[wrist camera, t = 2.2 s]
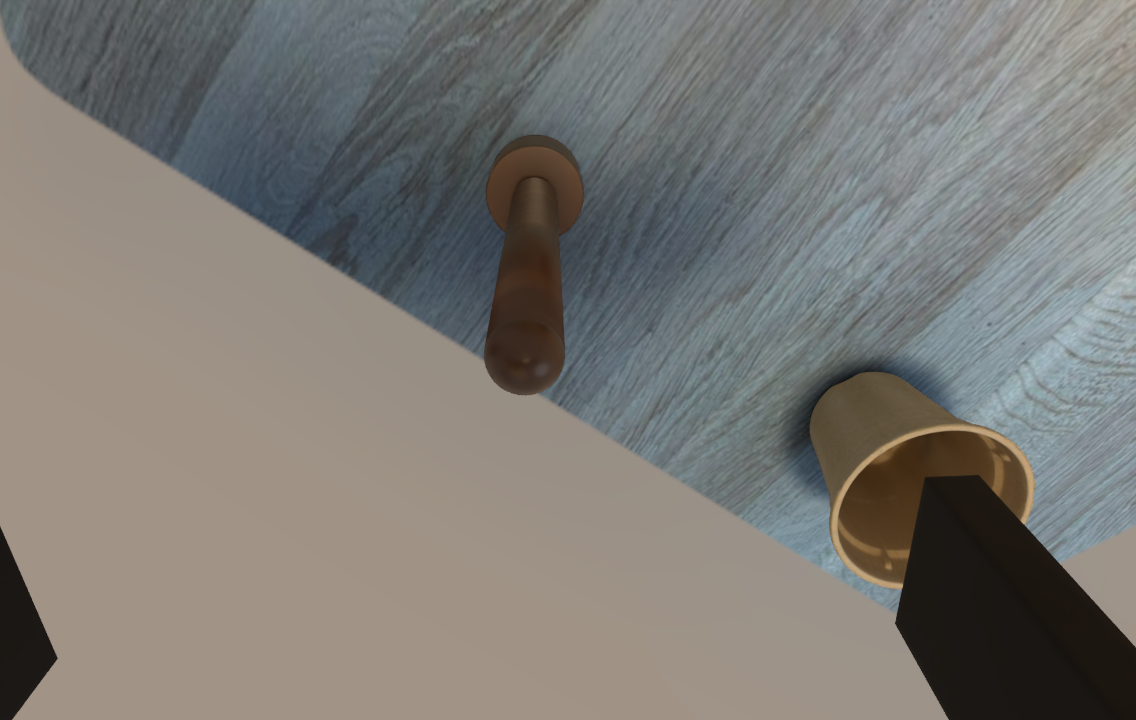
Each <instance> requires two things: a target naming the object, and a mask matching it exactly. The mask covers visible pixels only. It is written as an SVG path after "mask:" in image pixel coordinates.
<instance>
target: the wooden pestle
mask: <svg viewBox="0 0 1136 720" xmlns="http://www.w3.org/2000/svg"><path fill="white" fill-rule="evenodd" d="M583 198H584V192H583V184H582V179H581V174H580V169H579V166H578V163H577V161H576V159H575V157H574V156H573V154H572V153H571V152H570V151H569V150H568V148H567V147H565V146H564V145H563V144H562V143H560V142H559V141H557V140H555V139H553V138H550V137H547V136H542V135H528V136H524V137H520V138H518V139H516V140H514V141H512V142H510V143H509V144H508V145H506V146H505V147H504V148H503V149H502V150H501V151H500V153H499V154H498V156H497V157H496V159H495V161H494V163H493V166H492V169H491V172H490V175H489V178H488V182H487V187H486V200H487V205H488V209H489V211H490V214H491V216H492V218H493V219H494V221H495V222H496V224H497V225H498V226H499V227H500V228H501V229H502V230H503V231H504V232H506V233H505V238H504V244H503V249H502V255H501V260H500V266H499V271H498V277H497V282H496V288H495V293H494V299H493V304H492V310H491V315H490V321H489V326H488V332H487V337H486V343H485V349H484V360H485V365H486V368H487V371H488V373H489V375H490V377H491V378H492V379H493V381H494V382H495V383H496V384H497V385H498V386H499V387H501V388H502V389H504V390H506V391H508V392H510V393H513V394H517V395H532V394H536V393H540V392H542V391H544V390H546V389H547V388H549V387H550V386H551V385H552V384H553V383H554V382H555V381H556V380H557V378H558V377H559V375H560V373H561V372H562V369H563V365H564V361H565V342H564V322H563V302H562V282H561V263H560V243H559V236H561V235H562V234H564V233H565V232H566V231H568V230H569V229H570V228H571V227H572V225H573V224H574V223H575V221H576V220H577V218H578V216H579V214H580V212H581V209H582V205H583Z"/></svg>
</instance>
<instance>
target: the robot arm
mask: <svg viewBox="0 0 1136 720" xmlns="http://www.w3.org/2000/svg"><path fill="white" fill-rule="evenodd" d="M895 624H896V626H897V628H898V630H899V631H900V633H901V635H902V637H903V638H904V640H905V642H906V644H907V646H908V647H909V649H910V651H911V653H912V655H913V657H914V658H915V660H916V662H917V664H918V665H919V667H920V669H921V671H922V673H923V674H924V676H925V678H926V680H927V682H928V683H929V685H930V687H931V689H932V691H933V692H934V694H935V696H936V698H937V700H938V701H939V703H940V705H941V706H942V708H943V710H944V712H945V714H946V716H947V717H948V719H949V720H1136V647H1135V646H1134V645H1133V644H1132V643H1131V642H1130V641H1129V640H1128V638H1127V637H1126V636H1125V635H1124V634H1123V633H1122V632H1121V631H1120V630H1119V629H1118V627H1117V626H1116V625H1115V624H1114V623H1113V622H1112V621H1111V620H1110V619H1109V618H1108V617H1107V615H1106V614H1105V613H1104V612H1103V611H1102V610H1101V609H1100V608H1099V607H1098V605H1097V604H1095V602H1094V601H1093V600H1092V599H1091V598H1090V597H1089V596H1088V595H1087V593H1086V592H1085V591H1084V590H1083V589H1082V588H1081V587H1080V586H1079V585H1078V584H1077V582H1076V581H1075V580H1074V579H1073V578H1072V577H1071V576H1070V575H1069V574H1068V573H1067V571H1066V570H1065V569H1064V568H1063V567H1062V566H1061V565H1060V564H1059V563H1058V562H1057V560H1056V559H1055V558H1054V557H1053V556H1052V555H1051V554H1050V553H1049V552H1048V551H1047V549H1046V548H1045V547H1044V546H1043V545H1042V544H1041V543H1040V542H1039V541H1038V540H1037V538H1036V537H1035V536H1034V535H1033V534H1032V533H1031V532H1030V531H1029V530H1028V529H1027V527H1026V526H1025V525H1024V524H1023V523H1022V522H1021V521H1020V520H1019V519H1018V518H1017V516H1016V515H1015V514H1014V513H1013V512H1012V511H1011V510H1010V509H1009V508H1008V507H1007V505H1006V504H1005V503H1004V502H1003V501H1002V500H1001V499H1000V498H999V497H998V496H997V494H996V493H995V492H994V491H993V490H992V489H991V488H990V487H989V486H988V485H987V484H986V482H985V481H984V480H983V479H982V478H981V477H980V476H979V475H964V476H939V477H925V479H924V484H923V489H922V494H921V499H920V504H919V509H918V514H917V519H916V524H915V528H914V533H913V538H912V543H911V548H910V553H909V558H908V563H907V568H906V573H905V578H904V583H903V587H902V592H901V597H900V602H899V607H898V612H897V617H896V622H895ZM56 660H57V656H56V654H55V651H54V649H53V647H52V644H51V642H50V640H49V638H48V635H47V633H46V631H45V628H44V626H43V624H42V622H41V619H40V617H39V615H38V612H37V610H36V608H35V605H34V603H33V601H32V598H31V596H30V594H29V592H28V589H27V587H26V585H25V582H24V580H23V578H22V575H21V573H20V571H19V569H18V566H17V564H16V562H15V559H14V557H13V555H12V552H11V550H10V548H9V546H8V544H7V541H6V539H5V536H4V534H3V532H2V530H1V527H0V720H12V719H13V718H14V716H15V715H16V714H17V712H18V711H19V710H20V708H21V707H22V706H23V704H24V703H25V701H26V700H27V699H28V698H29V696H30V695H31V694H32V692H33V691H34V690H35V688H36V687H37V685H38V684H39V683H40V682H41V680H42V679H43V678H44V676H45V675H46V673H47V672H48V671H49V669H50V668H51V667H52V665H53V664H54V663H55V661H56Z"/></svg>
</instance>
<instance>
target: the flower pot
mask: <svg viewBox="0 0 1136 720" xmlns="http://www.w3.org/2000/svg"><path fill="white" fill-rule="evenodd" d="M810 437H811V441H812V444H813V447H814V449H815V452H816V454H817V457H818V460H819V463H820V466H821V469H822V472H823V475H824V478H825V482H826V485H827V488H828V491H829V494H830V508H831V511H830V522H829V525H830V535H831V540H832V543H833V545H834V548H835V550H836V552H837V554H838V555H839V557H840V559H841V560H842V561H843V563H844V564H845V565H846V566H847V567H848V568H849V569H850V570H851V571H852V572H854V573H855V574H856V575H858V576H860V577H861V578H863V579H865V580H867V581H869V582H871V583H874V584H877V585H879V586H884V587H888V588H898V589H902V587H903V583H904V578H905V573H906V568H907V563H908V558H909V553H910V548H911V543H912V538H913V533H914V528H915V524H916V519H917V514H918V509H919V504H920V499H921V494H922V489H923V484H924V479H925V477H939V476H964V475H979V476H980V477H981V478H982V479H983V480H984V481H985V482H986V484H987V485H988V486H989V487H990V488H991V489H992V490H993V491H994V492H995V493H996V494H997V496H998V497H999V498H1000V499H1001V500H1002V501H1003V502H1004V503H1005V504H1006V505H1007V507H1008V508H1009V509H1010V510H1011V511H1012V512H1013V513H1014V514H1015V515H1016V516H1017V518H1018V519H1019V520H1020V521H1021V522H1022V523H1023V524H1024V525H1025V523H1026V521H1027V519H1028V517H1029V514H1030V512H1031V509H1032V506H1033V502H1034V490H1035V480H1034V474H1033V471H1032V468H1031V465H1030V463H1029V461H1028V459H1027V457H1026V456H1025V454H1024V453H1023V452H1022V451H1021V449H1020V448H1019V447H1018V446H1017V445H1016V444H1015V443H1013V442H1012V441H1011V440H1009V439H1008V438H1006V437H1005V436H1003V435H1002V434H1000V433H998V432H996V431H994V430H992V429H989V428H986V427H983V426H980V425H975V424H971V423H969V422H966V421H963V420H960V419H957V418H956V417H955V416H953V415H952V414H951V413H949V412H948V411H946V410H945V409H944V408H942V407H941V406H939V405H938V404H936V403H935V402H933V401H932V400H931V399H929V398H928V397H926V396H925V395H924V394H922V393H921V392H919V391H918V390H917V389H915V388H914V387H913V386H911V385H910V384H909V383H907V382H906V381H905V380H903V379H901V378H900V377H897V376H895V375H892V374H889V373H883V372H865V373H859V374H857V375H856V376H854V377H852V378H850V379H848V380H846V381H844V382H842V383H840V384H837V385H834V386H832V387H831V388H830V389H829V390H828V391H826V392H825V394H824V395H823V396H822V397H821V398H820V400H819V401H818V403H817V404H816V406H815V408H814V410H813V413H812V416H811V420H810Z"/></svg>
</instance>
